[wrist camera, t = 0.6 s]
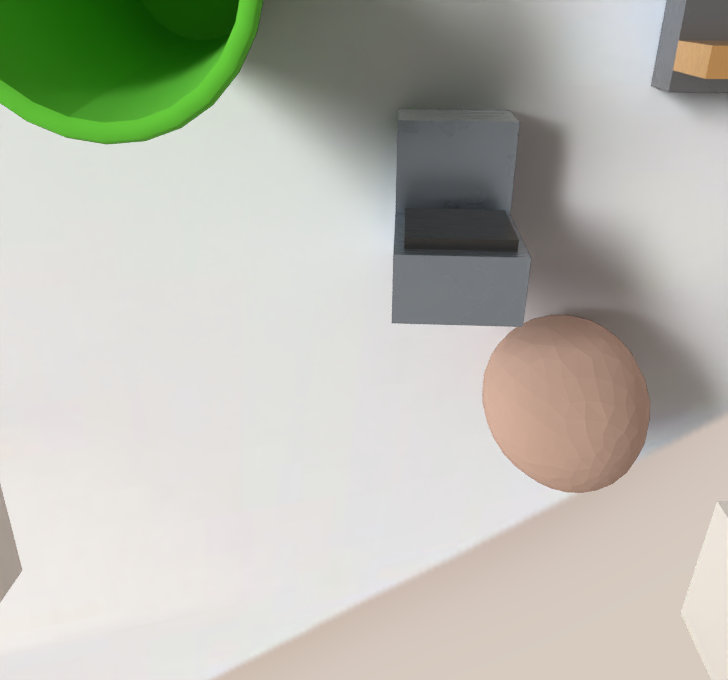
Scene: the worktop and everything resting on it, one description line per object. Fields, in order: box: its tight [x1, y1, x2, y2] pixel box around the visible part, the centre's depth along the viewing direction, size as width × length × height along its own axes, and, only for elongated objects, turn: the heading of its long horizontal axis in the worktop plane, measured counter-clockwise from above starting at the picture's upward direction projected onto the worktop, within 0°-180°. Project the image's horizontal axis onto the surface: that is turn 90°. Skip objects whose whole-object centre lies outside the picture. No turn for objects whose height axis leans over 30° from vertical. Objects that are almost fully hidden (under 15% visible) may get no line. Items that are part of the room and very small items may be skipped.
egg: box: [482, 315, 650, 493], centre depth 28 cm, size 7×7×9 cm
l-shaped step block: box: [392, 109, 531, 327], centre depth 26 cm, size 6×4×8 cm
